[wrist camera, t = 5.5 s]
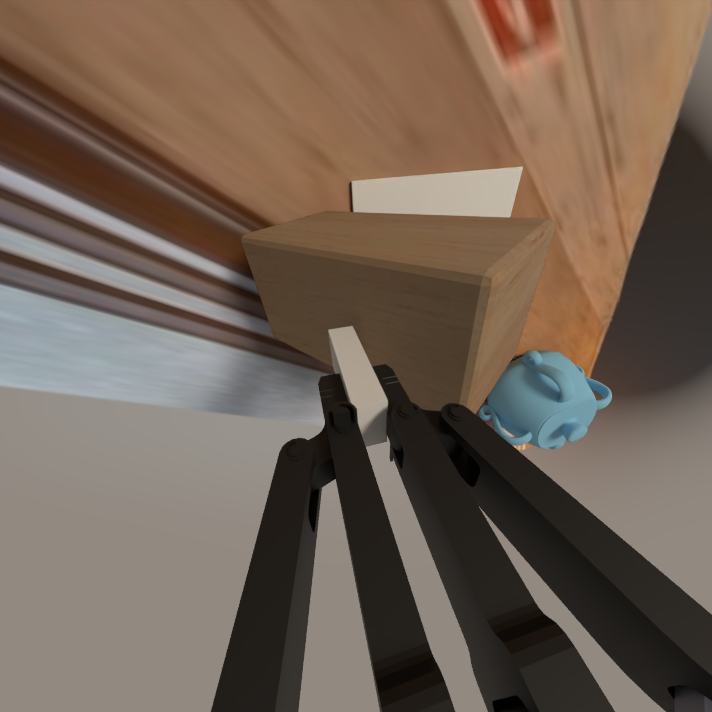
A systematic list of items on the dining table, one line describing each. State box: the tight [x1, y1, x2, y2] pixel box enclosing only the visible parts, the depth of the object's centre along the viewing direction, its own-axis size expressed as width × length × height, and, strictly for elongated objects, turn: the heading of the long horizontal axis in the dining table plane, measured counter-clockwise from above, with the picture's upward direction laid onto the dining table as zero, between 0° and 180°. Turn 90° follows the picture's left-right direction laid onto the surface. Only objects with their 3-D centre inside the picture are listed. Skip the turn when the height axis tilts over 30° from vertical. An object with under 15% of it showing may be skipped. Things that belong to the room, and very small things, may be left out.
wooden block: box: [241, 211, 555, 414], centre depth 22 cm, size 10×10×20 cm
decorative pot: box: [478, 350, 612, 449], centre depth 45 cm, size 16×16×14 cm
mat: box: [351, 167, 523, 217], centre depth 32 cm, size 15×19×1 cm
